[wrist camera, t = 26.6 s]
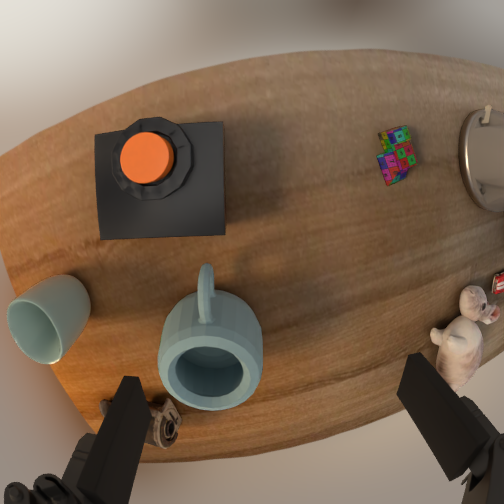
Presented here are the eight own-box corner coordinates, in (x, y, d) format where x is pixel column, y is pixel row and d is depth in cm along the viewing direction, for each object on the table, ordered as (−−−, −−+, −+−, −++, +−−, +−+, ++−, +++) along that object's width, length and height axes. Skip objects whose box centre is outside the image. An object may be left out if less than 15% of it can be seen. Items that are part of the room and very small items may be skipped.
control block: (224, 125, 28) (222, 112, 21) (226, 224, 31) (225, 239, 24) (114, 135, 27) (86, 127, 21) (119, 229, 30) (92, 244, 23)
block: (368, 137, 29) (383, 134, 26) (395, 127, 29) (411, 124, 26) (386, 185, 31) (402, 187, 28) (412, 174, 31) (428, 175, 27)
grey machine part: (177, 462, 34) (186, 439, 30) (94, 445, 31) (85, 417, 27) (179, 424, 40) (187, 394, 36) (102, 408, 37) (97, 374, 33)
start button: (173, 133, 22) (168, 129, 20) (174, 180, 23) (169, 181, 21) (128, 137, 22) (119, 135, 20) (129, 184, 23) (120, 185, 21)
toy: (460, 301, 29) (514, 279, 31) (425, 288, 36) (483, 271, 38) (426, 453, 33) (482, 418, 34) (405, 431, 40) (460, 401, 42)
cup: (105, 322, 33) (73, 367, 23) (59, 322, 33) (22, 362, 23) (90, 263, 31) (47, 296, 21) (43, 268, 31) (-3, 298, 21)
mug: (159, 249, 31) (131, 282, 21) (261, 247, 32) (274, 281, 22) (173, 362, 35) (159, 416, 25) (259, 361, 36) (267, 417, 26)
